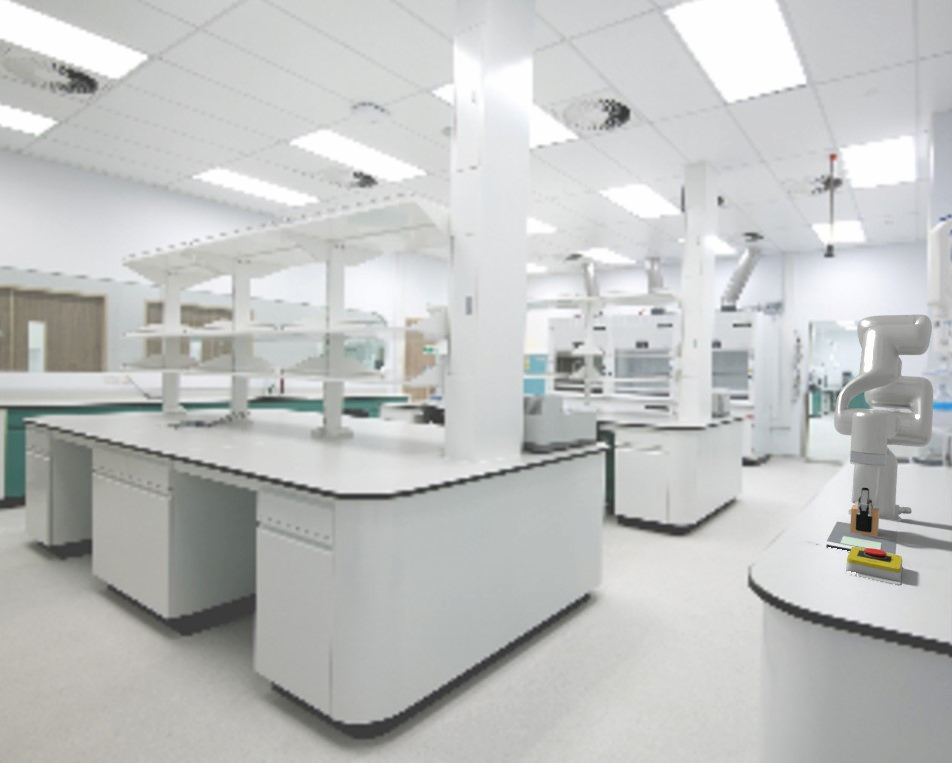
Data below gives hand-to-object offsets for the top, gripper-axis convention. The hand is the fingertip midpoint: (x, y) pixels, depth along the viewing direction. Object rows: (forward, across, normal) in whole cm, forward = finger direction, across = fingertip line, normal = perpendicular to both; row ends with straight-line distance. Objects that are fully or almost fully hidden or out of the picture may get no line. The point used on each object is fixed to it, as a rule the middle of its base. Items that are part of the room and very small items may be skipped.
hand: (864, 527), depth 140 cm
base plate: (+3, +5, 0) cm, 6 cm away
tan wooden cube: (+1, 0, 0) cm, 1 cm away
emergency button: (+3, +28, +3) cm, 29 cm away
